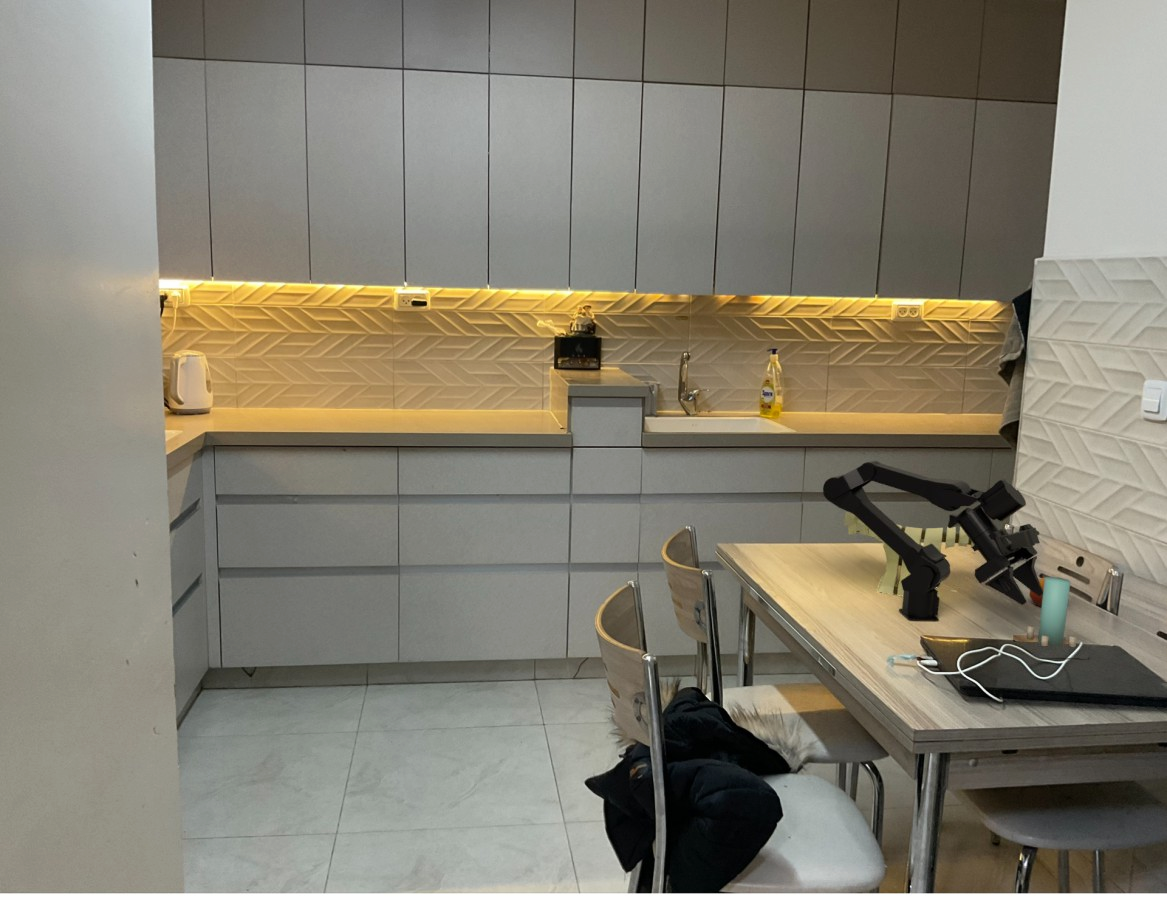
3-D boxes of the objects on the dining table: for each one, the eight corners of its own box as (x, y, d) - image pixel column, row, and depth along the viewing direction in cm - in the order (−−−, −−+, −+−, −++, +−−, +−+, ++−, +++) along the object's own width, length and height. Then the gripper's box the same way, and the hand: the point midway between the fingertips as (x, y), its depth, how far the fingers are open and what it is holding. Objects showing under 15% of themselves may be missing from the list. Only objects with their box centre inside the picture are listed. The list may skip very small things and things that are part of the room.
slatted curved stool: (974, 587, 234) (982, 515, 231) (975, 606, 219) (983, 528, 216) (846, 571, 244) (852, 501, 242) (839, 587, 230) (845, 513, 227)
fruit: (1052, 608, 214) (1042, 573, 217) (1029, 616, 221) (1019, 582, 224) (1082, 607, 216) (1072, 572, 219) (1058, 615, 224) (1049, 581, 226)
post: (1038, 645, 190) (1046, 581, 188) (1036, 638, 195) (1043, 575, 193) (1063, 649, 189) (1071, 584, 187) (1061, 642, 193) (1069, 578, 191)
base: (1037, 658, 187) (1039, 639, 186) (1012, 640, 197) (1014, 622, 196) (1088, 659, 187) (1090, 641, 187) (1061, 641, 197) (1063, 624, 196)
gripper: (997, 518, 188) (1050, 586, 182) (1032, 506, 201) (1082, 570, 195) (953, 549, 194) (1002, 616, 188) (990, 535, 208) (1037, 598, 202)
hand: (1033, 599), depth 193 cm, fingers open, 9 cm apart
